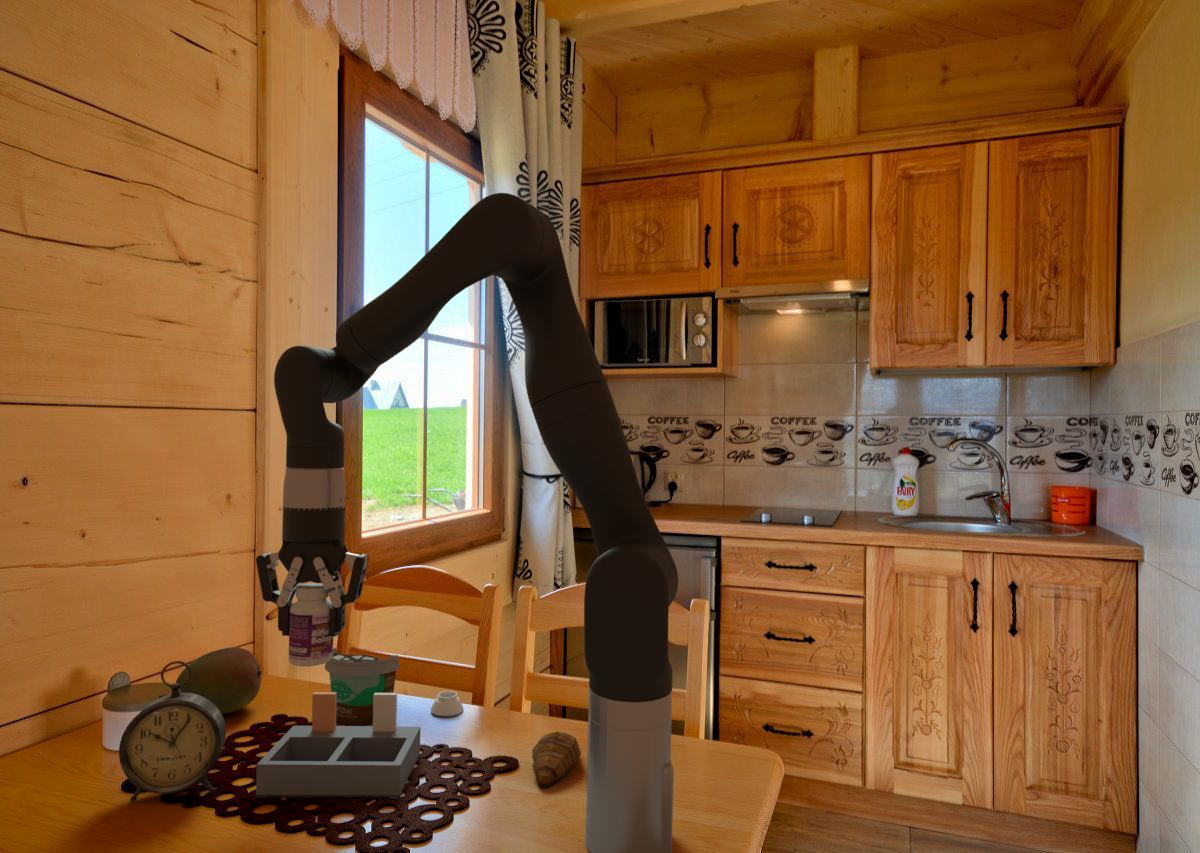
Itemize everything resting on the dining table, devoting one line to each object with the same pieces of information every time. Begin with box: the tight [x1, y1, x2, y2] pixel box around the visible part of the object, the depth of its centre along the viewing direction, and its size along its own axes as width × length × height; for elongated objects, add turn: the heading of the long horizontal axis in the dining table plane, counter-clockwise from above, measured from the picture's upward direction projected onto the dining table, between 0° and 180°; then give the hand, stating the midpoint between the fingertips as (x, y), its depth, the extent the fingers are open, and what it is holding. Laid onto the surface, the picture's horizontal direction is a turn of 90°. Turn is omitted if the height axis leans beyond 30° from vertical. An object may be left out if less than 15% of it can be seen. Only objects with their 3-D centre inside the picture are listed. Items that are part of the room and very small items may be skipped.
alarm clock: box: [118, 660, 227, 802], centre depth 92 cm, size 11×5×16 cm, turn 105°
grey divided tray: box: [255, 691, 421, 799], centre depth 98 cm, size 17×12×9 cm
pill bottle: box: [288, 582, 335, 668], centre depth 96 cm, size 5×5×10 cm
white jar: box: [430, 690, 464, 718], centre depth 120 cm, size 5×3×5 cm
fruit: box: [175, 646, 263, 715], centre depth 118 cm, size 12×12×10 cm
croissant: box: [531, 731, 582, 788], centre depth 102 cm, size 14×7×5 cm, turn 170°
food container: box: [324, 647, 401, 726], centre depth 116 cm, size 12×6×10 cm, turn 73°
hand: (311, 634), depth 96 cm, fingers closed on pill bottle, 5 cm apart
